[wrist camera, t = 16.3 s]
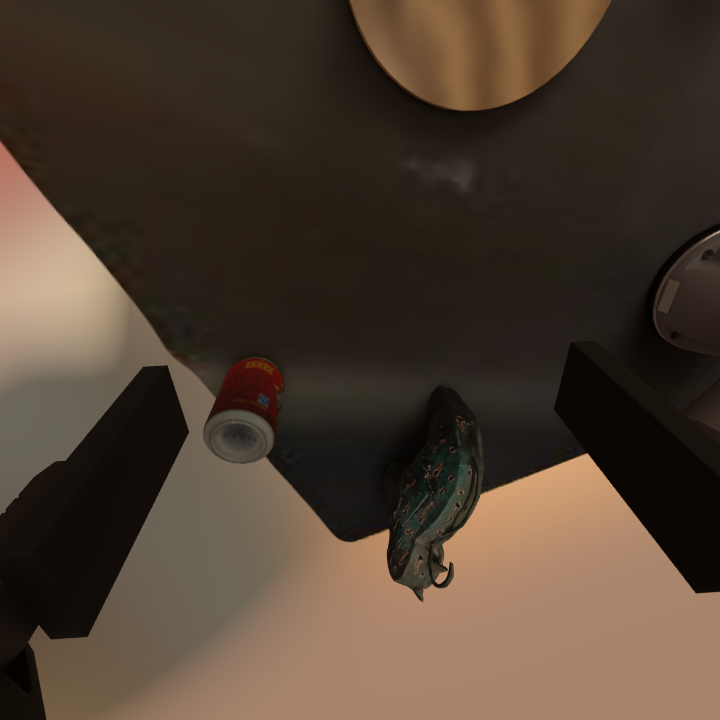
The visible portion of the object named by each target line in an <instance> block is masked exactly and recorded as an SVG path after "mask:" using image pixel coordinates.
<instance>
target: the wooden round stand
mask: <svg viewBox="0 0 720 720" xmlns="http://www.w3.org/2000/svg"><path fill="white" fill-rule="evenodd" d="M348 2H349V6H350V9H351V11H352V14H353V17H354V20H355V23H356V26H357V28H358V30H359V32H360V34H361V36H362V38H363V40H364V42H365V45H366V46H367V48H368V49H369V51H370V53H371V54H372V56H373V57H374V59H375V60H376V62H377V63H378V64H379V66H380V67H381V68H382V69H383V70H384V72H385V73H386V74H387V75H388V76H389V77H390V78H391V79H392V80H393V81H394V82H395V83H396V84H397V85H398V86H399V87H400V88H402V89H403V90H405V91H406V92H407V93H409V94H410V95H412V96H413V97H415V98H417V99H419V100H421V101H423V102H425V103H427V104H429V105H432V106H436V107H439V108H442V109H446V110H454V111H480V110H486V109H491V108H496V107H500V106H503V105H506V104H509V103H511V102H514V101H516V100H518V99H520V98H522V97H524V96H526V95H528V94H530V93H532V92H533V91H535V90H536V89H538V88H539V87H541V86H542V85H544V84H545V83H546V82H548V81H549V80H550V79H551V78H552V77H554V76H555V75H556V74H557V73H558V72H560V71H561V70H562V69H563V68H564V67H565V66H566V65H567V64H568V63H569V61H570V60H571V59H572V58H573V57H574V56H575V55H576V54H577V53H578V51H579V50H580V49H581V48H582V46H583V45H584V44H585V43H586V41H587V40H588V39H589V37H590V36H591V34H592V33H593V31H594V30H595V28H596V27H597V25H598V24H599V22H600V20H601V19H602V17H603V15H604V13H605V12H606V10H607V8H608V6H609V4H610V2H611V0H348Z"/></svg>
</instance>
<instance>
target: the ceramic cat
mask: <svg viewBox="0 0 720 720" xmlns="http://www.w3.org/2000/svg"><path fill="white" fill-rule="evenodd" d="M428 404H429V407H430V413H431V414H430V417H431V425H430V430H429V434H428V438H427V441H426V444H425V446H424V447H423V449H422V450H421V451H420V452H419V453H418V454H417V455H416V457H415V459H414V460H413V461H412V462H411V463H410V464H409V466H406V465H404V464H400V463H396V462H392V461H391V462H390V464H389V467H388V469H387V471H386V472H385V473H384V475H383V482H384V492H385V498H386V514H387V518H388V523H389V531H390V539H389V545H388V549H387V562H388V568H389V572H390V575H391V577H392V579H393V580H394V581H395V582H397V583H400V584H402V585H405V586H408V587H409V588H411V589H412V590H413V591H414V593H415V595H416V596H417V597H418V599H419V600H420V601H423V589H426V588H428V587H429V586H430V585H432V584H433V585H434V586H435V587H437V588H445V587H447V586H448V585H449V584H450V582H451V581H452V579H453V576H454V567H453V563H451V562H450V565H449V571H448V569H447V568H446V567H445V566H443V560H444V550H443V547H442V544H443V543H444V542H445V541H447V540H449V539H450V538H451V537H452V536H453V535H454V534H455V533H456V532H457V531H458V530H459V529H460V528H462V527H463V526H464V525H465V523H466V522H467V520H468V519H469V517H470V516H471V514H472V513H473V511H474V509H475V507H476V504H477V502H478V500H479V498H480V493H481V483H482V478H483V472H484V450H483V439H482V433H481V429H480V427H479V425H478V422H477V420H476V418H475V416H474V414H473V413H472V412H471V410H470V409H469V408H468V407H467V406H466V404H465V403H464V402H463V401H462V399H461V398H460V396H459V395H458V393H457V392H456V391H454V390H452V389H449V388H445V387H443V386H441V385H439V386H438V387H437V389H436V390H435V391H434V392H433V394H432V396H431V398H430V401H429V403H428ZM445 571H448V575H447V578H446V579H445V581H444V582H442V583H441V584H437V583H436V582H435V579H436V578H437V577H438V575H439V573H442V572H445Z"/></svg>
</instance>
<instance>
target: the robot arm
mask: <svg viewBox="0 0 720 720" xmlns="http://www.w3.org/2000/svg"><path fill="white" fill-rule="evenodd" d="M647 314H648V320H649V323H650V325H651V327H652V329H653V330H654V331H655V333H656V334H657V335H659V336H660V337H661V338H663V339H664V340H666V341H667V342H669V343H671V344H672V345H675V346H677V347H680V348H682V349H685V350H690V351H694V352H699V353H703V354H708V355H713V356H717V357H720V225H717V226H714V227H712V228H710V229H708V230H706V231H704V232H702V233H700V234H699V235H697V236H696V237H694V238H693V239H691V240H690V241H689V242H687V243H686V244H685V245H683V246H682V247H681V248H680V249H679V250H678V251H677V252H676V253H675V254H674V255H673V256H672V257H671V258H670V259H669V260H668V262H667V263H666V264H665V265H664V267H663V268H662V270H661V271H660V272H659V274H658V276H657V278H656V279H655V281H654V283H653V286H652V288H651V291H650V294H649V298H648V304H647ZM554 410H555V412H556V413H557V414H558V416H559V417H560V418H561V419H562V421H563V422H564V423H565V425H566V426H567V427H568V428H569V430H570V431H571V432H572V434H573V435H574V436H575V438H576V439H577V440H578V441H579V443H580V444H581V445H582V447H583V448H584V449H585V450H586V452H587V453H588V454H589V455H590V457H591V458H592V459H593V461H594V462H595V463H596V465H597V466H598V467H599V468H600V470H601V471H602V472H603V474H604V475H605V476H606V478H607V479H608V480H609V481H610V483H611V484H612V485H613V487H614V488H615V489H616V490H617V492H618V493H619V494H620V496H621V497H622V498H623V500H624V501H625V502H626V503H627V505H628V506H629V507H630V509H631V510H632V511H633V513H634V514H635V515H636V516H637V518H638V519H639V520H640V522H641V523H642V524H643V525H644V527H645V528H646V529H647V530H648V532H649V533H650V534H651V536H652V537H653V538H654V539H655V541H656V542H657V543H658V545H659V546H660V547H661V549H662V550H663V551H664V553H665V554H666V555H667V556H668V558H669V559H670V560H671V562H672V563H673V564H674V566H675V567H676V568H677V569H678V570H679V572H680V573H681V575H682V576H683V577H684V579H685V580H686V581H687V582H688V583H689V585H690V586H691V588H692V589H693V590H694V591H695V593H707V592H720V379H719V380H718V381H717V382H715V383H714V384H713V385H712V386H711V387H710V388H708V389H707V390H706V391H705V392H704V393H703V394H701V395H700V396H699V397H698V398H697V399H696V400H695V401H693V402H692V403H691V404H690V405H689V406H688V407H686V408H685V409H684V410H683V411H682V412H680V411H679V410H678V409H676V408H675V407H674V406H673V405H672V404H670V403H669V402H668V401H667V400H666V399H664V398H663V397H662V396H661V395H659V394H658V393H657V392H656V391H655V390H653V389H652V388H651V387H650V386H648V385H647V384H646V383H645V382H644V381H642V380H641V379H640V378H639V377H638V376H636V375H635V374H634V373H633V372H631V371H630V370H629V369H628V368H627V367H625V366H624V365H623V364H622V363H620V362H619V361H618V360H617V359H616V358H614V357H613V356H612V355H611V354H610V353H608V352H607V351H606V350H605V349H603V348H602V347H601V346H600V345H599V344H597V343H596V342H595V341H581V342H571V344H570V348H569V352H568V356H567V360H566V364H565V368H564V372H563V376H562V380H561V384H560V388H559V392H558V396H557V400H556V404H555V408H554ZM188 433H189V430H188V427H187V424H186V421H185V418H184V415H183V412H182V409H181V406H180V403H179V400H178V396H177V393H176V390H175V387H174V385H173V381H172V378H171V375H170V372H169V369H168V366H167V365H166V366H150V367H143V368H142V369H141V370H140V371H139V373H138V374H137V375H136V376H135V378H134V379H133V380H132V381H131V382H130V384H129V385H128V386H127V387H126V388H125V390H124V391H123V392H122V393H121V394H120V396H119V397H118V398H117V399H116V400H115V402H114V403H113V404H112V405H111V407H110V408H109V409H108V410H107V411H106V413H105V414H104V415H103V416H102V417H101V419H100V420H99V421H98V422H97V423H96V425H95V426H94V427H93V428H92V430H91V431H90V432H89V433H88V434H87V436H86V437H85V438H84V439H83V440H82V442H81V443H80V444H79V445H78V446H77V448H76V449H75V450H74V451H73V452H72V454H71V455H70V456H69V457H68V458H67V460H66V461H57V462H54V463H53V464H51V465H50V466H49V467H47V468H46V469H45V470H43V471H42V472H40V473H39V474H38V475H36V476H35V477H34V478H33V479H32V480H31V481H30V482H29V483H28V485H27V486H26V487H25V488H24V489H23V491H21V493H20V494H19V497H18V498H15V499H14V500H13V502H12V503H11V504H10V505H9V506H8V507H7V509H6V512H5V513H2V514H1V515H0V720H46V715H45V710H44V704H43V699H42V693H41V689H40V683H39V677H38V672H37V667H36V661H35V656H34V652H33V650H32V648H31V647H30V645H29V644H28V641H29V640H30V638H31V636H32V635H33V633H34V631H35V630H36V628H37V626H38V625H40V627H41V628H42V629H43V630H44V631H45V633H46V634H47V635H48V637H50V639H64V638H78V637H88V635H89V633H90V631H91V629H92V627H93V625H94V623H95V621H96V619H97V617H98V615H99V613H100V610H101V609H102V607H103V605H104V602H105V601H106V599H107V597H108V595H109V593H110V591H111V588H112V587H113V584H114V583H115V580H116V579H117V576H118V574H119V572H120V570H121V568H122V566H123V564H124V562H125V560H126V558H127V556H128V554H129V552H130V550H131V548H132V546H133V544H134V542H135V540H136V538H137V536H138V534H139V532H140V530H141V528H142V526H143V524H144V522H145V520H146V518H147V516H148V514H149V512H150V510H151V508H152V506H153V504H154V502H155V500H156V498H157V496H158V494H159V492H160V490H161V488H162V486H163V484H164V482H165V480H166V478H167V476H168V474H169V472H170V470H171V468H172V466H173V464H174V461H175V459H176V458H177V456H178V453H179V451H180V449H181V447H182V445H183V443H184V441H185V439H186V437H187V435H188Z"/></svg>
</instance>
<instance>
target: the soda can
mask: <svg viewBox="0 0 720 720" xmlns="http://www.w3.org/2000/svg"><path fill="white" fill-rule="evenodd" d="M283 394H284V379H283V377H282V374H281V373H280V371H279V370H278V368H277V367H276V365H274V364H273V363H272V362H271V361H269V360H267V359H265V358H261V357H250V358H246V359H244V360H242V361H240V362H238V363H236V364H235V365H234V366H232V367H231V369H230V370H229V371H228V373H227V375H226V377H225V379H224V382H223V384H222V386H221V389H220V391H219V393H218V396H217V398H216V400H215V403H214V405H213V408H212V410H211V412H210V414H209V417H208V419H207V421H206V423H205V426H204V441H205V443H206V445H207V447H208V448H209V450H210V451H211V452H212V453H213V454H214V455H216V456H217V457H219V458H221V459H223V460H225V461H228V462H231V463H240V464H244V463H251V462H255V461H258V460H260V459H262V458H263V457H265V456H266V455H267V454H268V453H269V452H270V451H271V449H272V447H273V445H274V443H275V438H276V432H277V426H278V421H279V415H280V410H281V404H282V399H283Z"/></svg>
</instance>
